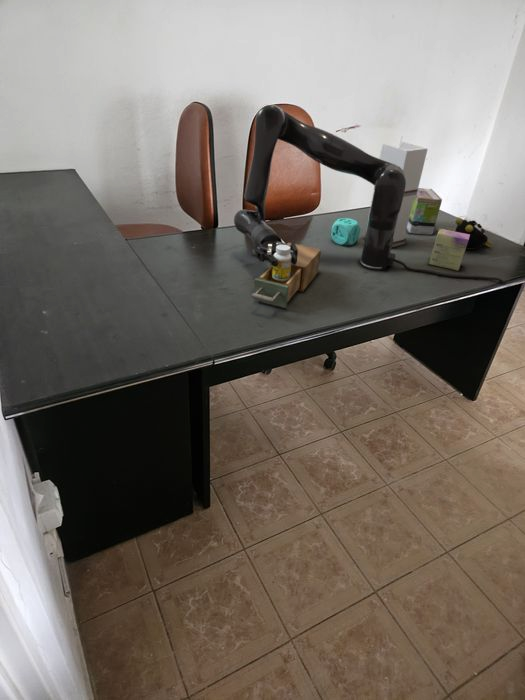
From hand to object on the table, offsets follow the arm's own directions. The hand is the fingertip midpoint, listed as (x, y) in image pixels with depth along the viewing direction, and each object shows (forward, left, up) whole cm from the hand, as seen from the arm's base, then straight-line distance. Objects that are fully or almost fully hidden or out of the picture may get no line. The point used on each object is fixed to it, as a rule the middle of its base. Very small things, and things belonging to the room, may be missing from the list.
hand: (285, 262), depth 136 cm
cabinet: (+2, -15, -12) cm, 19 cm away
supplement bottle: (+2, -2, -6) cm, 7 cm away
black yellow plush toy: (-49, -74, -12) cm, 90 cm away
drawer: (+2, +2, -11) cm, 11 cm away
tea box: (-27, -85, -12) cm, 90 cm away
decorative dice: (-4, -54, -12) cm, 56 cm away
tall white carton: (-18, -63, -12) cm, 67 cm away
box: (-42, -52, -12) cm, 68 cm away
